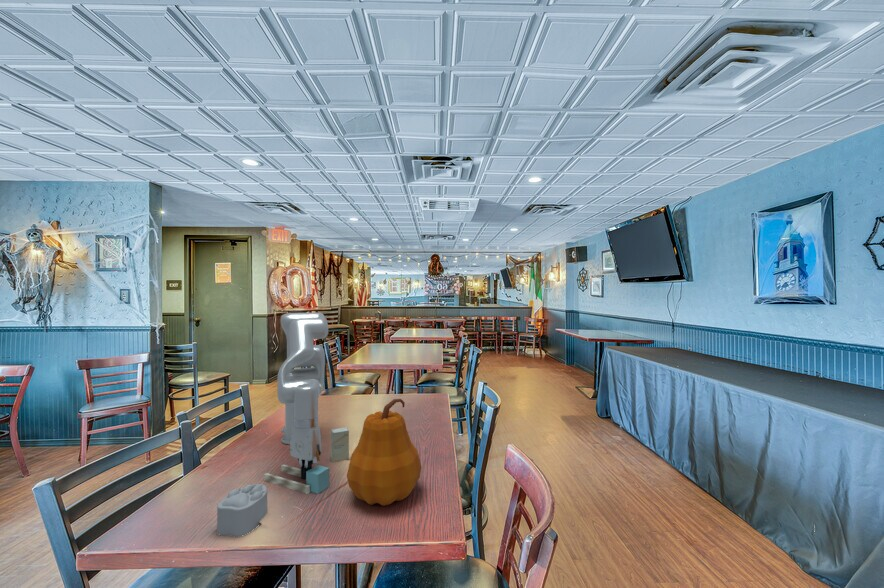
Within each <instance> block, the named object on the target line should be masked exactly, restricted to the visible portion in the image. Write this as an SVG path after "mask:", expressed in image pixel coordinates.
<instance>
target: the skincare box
mask: <svg viewBox="0 0 884 588" xmlns="http://www.w3.org/2000/svg"><path fill="white" fill-rule="evenodd" d="M349 440H350V430H349V428H348V427H347V426H345V427H339V428H333V429H330V460H331V462H332V463H336V462H342V461H347V462H348V461H349V462H350V459H349V458H350V457H349V456H350V455H349V451H350V449H349V447H350V445H349V444H350V442H349Z"/></svg>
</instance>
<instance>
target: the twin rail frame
mask: <svg viewBox="0 0 884 588" xmlns="http://www.w3.org/2000/svg"><path fill="white" fill-rule="evenodd" d="M280 470H281V471H280V472H281V473H284V474H287V475H291V476H295V477H299V478H301V468H298V467H296V466H291V465H289V464H281V465H280ZM263 481H264V482H267V483H270V484H272V485H275V486H279V487H283V488H285V489H288V490H293V491H295V492H299V493H302V494H304V495H305V494H306V495H309V494H310V493H311V492H310V485H306V483H304V482H303V483H302V482H300V481H294V480H292V479H289V478H285V477H283V476H282V477H281V476H278V475H275V474H271V473H269V472H265V473H264V474H263Z"/></svg>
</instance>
